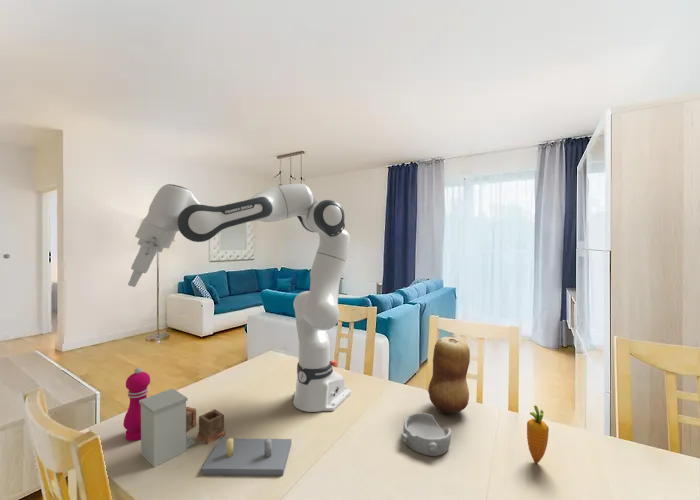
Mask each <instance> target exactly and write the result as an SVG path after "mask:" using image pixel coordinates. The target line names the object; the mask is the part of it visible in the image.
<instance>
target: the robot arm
mask: <svg viewBox="0 0 700 500" xmlns="http://www.w3.org/2000/svg"><path fill="white" fill-rule="evenodd" d="M293 217H297V219H298V220H299V222H300V224H301V225H302V227H303V228H304V229H305V230H306V231H308V232H311V233H317V234H318V235H319V236H318V237H319V242H318V243H319V244H318V248H317V249H316V254H315V256H314V259H313V262H312V266H311V269H310V272H309V278H310V283H309V284H310V285H309V290H305V291H301V292H299V293H298V294H297V295H296V296H295V297H294V300H293V303H292V304H293V310H294V314H295V315H294V316H295V324H296V331H297V339H298V361H297V366H296V374H297V375H296V383H295V391H293V404H292V405H293V406H294V407H295V409H297V410H299V411H303V412H308V413H312V412H313V413H317V412H334V411H335V410H336V409H337V408H338V407H339V406H340V405H341V404H342V403H343V402H344V401H345V400H346V399H347V398H348V397H349V396H350V395H351V393H352V390H351V389H350V388H349V387H347V386H346V384H345V380H344V376H342V375H341V374H339V373H338V372H336V371H335V370H333V368H336V367H337V366H338V361H337V360H334V359H332V360H330V359H331V358H330V356H331V355H330V353H331V352H330V351H331V342H330V341H331V340H330V337H329V335H328V331H329V330H331V329H333V328H334V327H335V326H336V325H337V324H338V322H339V319H340V313H341V312H340V310H339V293H340V283H341V279H342V276H343V271H344V269H345V265H346V261H347V259H348V256H349V255H348V254H349V249H350V243H351V235H350V234H349V232H348V231H347V230H346V229H345V228H346V227H345V226H346V224H345V212H344V208H343V207H342V205H341V204H340V203H338V202H337V201H334V200H331V199H325V200H316V199H315V198H314V194H313V192H312V191H311V188H309V186H308V185H307V184H305V183H289V184H283V185H282V184H281V185H277V186H272V187H270V188H266V189H264V190H261V191H259V192H258V193H256V194H255V195H253V196H252V197H250V198H248V199H244V200H242V201H236V202H232V203H227V204H223V205H217V206H212V205H206V204H201V203H200V201H199V200H198V199H197V198H196V197H195V196H194V194H193V192H192V191H191V189H189V188H187V187H184V186H181V185H177V184H172V183H167V184H165V185H162V186H161V187H160V188H159V189H158V191H156V194H155V196H154V197H153V199H152V201H151V203H150V204H149V208H148V212H147V215H146V216H145V217H144V218H143V219H142V222H141V223H140V226H139V228H138V229H137V231H136V232H135V238H137V239H139V240H138V242H137V245H138V246H140V247H139V249H138V252H137V254H136V256H135V258H134V261H132V262H133V263H132V265H131V267H130V269H131V270H132V273H131V275H130V279H129V280H128V283H127V285H128V287H133V288H135V287H136V286H137V284H138V282H139V280H140V279H141V277H142V276H143V274H147V272H148V271H149V269H150V266H151V264H152V263H153V260H154V259H155V257H156V256H157V254H158V253H162V252H163V250H164V248H165V249H170V247H171V245H172V242H173V240H174V238H175V236H176V234H177V232H180V234H181V235H182V236H183V237H184V238H185V239H187V240H189V241H191V242H196V243H203V242H207V241H209V240H211V239H213V238H214V237H215V236H217V235H218V233H220V232H221V231H223V230H225V229H228V228H231V227H234V226H235V227H236V226H239V225H242V224H246V223H249V222H264V223H271V222H272V223H273V222H279V221H284V220H287V219H290V218H293Z"/></svg>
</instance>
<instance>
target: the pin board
mask: <svg viewBox="0 0 700 500" xmlns="http://www.w3.org/2000/svg"><path fill="white" fill-rule="evenodd" d="M291 447H292V439H291V438H237V437H234V438H233V437H227V438H226V437H220V438H219V441H218V442H217V444H216V445H215V447H214V448H213V450H212V452H211V453H210V455H209V456H208V458H207V460H206V461H205V463H204V464H203V466H202V469H201V475H204V476H205V475H214V476H215V475H217V476H218V475H222V476H223V475H224V476H228V475H229V476H284V474H285V470H286V466H287V462H288V458H289V455H290V450H291Z"/></svg>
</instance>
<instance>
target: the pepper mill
mask: <svg viewBox="0 0 700 500" xmlns="http://www.w3.org/2000/svg"><path fill="white" fill-rule="evenodd" d="M142 370H143V369H142V368H141V367H136V368H135V369H134V373H132V374H130V375H129V376H128V377H127V378H126V380H125V381H126V382H125V388H126V389H127V391H128V392H127V393H128V394H127V397H128V398H129V405H128V408H127V411H126V413H125V416H124V419H123V428H124V430H126V431H125V439H126V440H127V441H129V442H133V441H134V442H137V441H139V440H140V441H141V404H140V403H139V400H141V399H144V398H147V397H148V396H147V395H148V394H149V387H148V386H149V385H150V383H151V377H150V375H149V373H147V372H145V371H142Z"/></svg>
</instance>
